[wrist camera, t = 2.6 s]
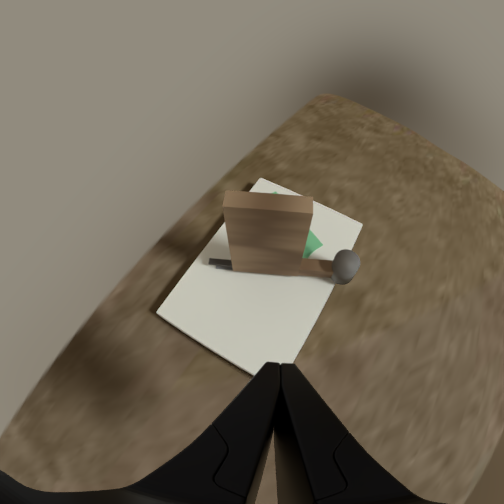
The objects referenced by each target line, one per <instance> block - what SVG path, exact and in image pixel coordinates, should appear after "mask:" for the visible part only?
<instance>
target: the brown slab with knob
mask: <svg viewBox="0 0 504 504" xmlns="http://www.w3.org/2000/svg"><path fill="white" fill-rule="evenodd" d="M222 207H223V213H224V219H225V225H226V232H227V238H228V244H229V250H230V256H231V260H226V259H214V258H209V263H208V264H209V265H219V266H230V267H232V268H233V271H239V272H250V273H261V274H273V275H285V276H298V275H299V276H312V277H325V278H331V279H332V280H333V281H334V282H335V283H337V284H341V285H344V284H347V283H349V282H350V281H351V280H352V278H353V277H354V275H355V273H356V272H357V270H358V269H359V267H360V259H359V257H358V255H357V254H356V253H355V252H353V251H351V250H348V249H343V250H340V251H339V252H337V254H336V255H335V257H334V260H333V261H332V260H320V259H308V258H302V257H303V253H304V249H305V245H306V241H307V237H308V233H309V229H310V225H311V221H312V217H313V197H308V196H297V195H286V194H273V193H260V192H245V191H228V190H226V192H225V197H224V202H223V206H222Z"/></svg>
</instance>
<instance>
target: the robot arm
mask: <svg viewBox="0 0 504 504" xmlns="http://www.w3.org/2000/svg"><path fill="white" fill-rule="evenodd" d="M273 429H274V448H275V464H276V480H277V497H278V504H446V503H438V502H432V501H428V500H425V499H423V498H421V497H419V496H417V495H415V494H414V493H412V492H411V491H410V490H408V489H407V488H406V487H405V486H404V485H403V484H401V483H400V482H399V481H398V480H397V479H396V478H394V477H393V476H392V475H391V474H390V473H389V472H388V471H386V470H385V469H384V468H383V467H382V466H381V465H380V464H379V463H378V462H377V461H375V460H374V459H373V458H372V457H371V456H370V455H369V454H368V453H367V452H366V451H365V450H364V448H363V447H362V446H361V445H360V444H359V443H358V442H357V441H356V439H355V438H354V437H353V436H352V435H351V433H349V431H348V430H347V429H346V427H345V426H344V425H343V424H342V422H341V421H340V420H339V419H338V418H337V416H336V415H335V414H334V413H333V411H332V410H331V409H330V408H329V406H328V405H327V404H326V403H325V401H324V400H323V399H322V398H321V396H320V395H319V394H318V393H317V391H316V390H315V389H314V388H313V386H312V385H311V384H310V383H309V381H308V380H307V379H306V378H305V376H304V375H303V374H302V372H301V371H300V370H299V369H298V367H297V366H296V365H295V364H293V363H281V364H280V363H278V362H266V363H265V364H264V365H263V366H262V367H261V368H260V370H259V371H258V372H257V373H256V374H255V375H254V377H253V378H252V379H251V380H250V381H249V382H248V384H247V385H246V386H245V387H244V388H243V389H242V390H241V392H240V393H239V394H238V395H237V396H236V397H235V398H234V399H233V401H232V402H231V403H230V404H229V405H228V406H227V407H226V408H225V409H224V410H223V412H222V413H221V414H220V415H219V416H218V417H217V418H216V419H215V420H214V421H213V422H212V425H209V426H208V428H207V429H206V430H205V431H204V432H203V433H202V434H201V435H200V436H199V437H198V438H197V439H195V440H194V441H193V442H192V443H191V444H190V445H189V446H188V447H186V448H185V449H184V450H183V451H181V452H180V453H179V454H177V455H176V456H175V457H173V458H172V459H171V460H169V461H168V462H166V463H165V464H163V465H162V466H161V467H159V468H158V469H156V470H155V471H153V472H152V473H150V474H149V475H147V476H146V477H144V478H143V479H141V480H140V481H138V482H136V483H134V484H132V485H129V486H127V487H123V488H119V489H111V490H100V491H86V492H44V491H39V490H35V489H32V488H29V487H26V486H24V485H22V484H21V483H19V482H17V481H16V480H14V479H13V478H12V477H10V476H9V475H7V474H6V473H4V472H3V471H1V470H0V504H255V501H256V497H257V493H258V490H259V486H260V482H261V479H262V475H263V471H264V467H265V463H266V460H267V456H268V452H269V448H270V443H271V439H272V435H273Z"/></svg>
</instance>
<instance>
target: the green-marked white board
mask: <svg viewBox="0 0 504 504" xmlns="http://www.w3.org/2000/svg"><path fill="white" fill-rule="evenodd" d="M249 192H260V193H273V194H286V195H297V196H302V195H300V194H297V193H295V192H293V191H290V190H288V189H286V188H284V187H281V186H279V185H277V184H274V183H272V182H270V181H267V180H265V179H262V178H260V179H259V180H258V181H257V183H256V184H255V185H254V186H253V187H252V189H251V190H250V191H249ZM362 225H363V224H361V223H359V222H357V221H355V220H353V219H351V218H349V217H347V216H345V215H343V214H341V213H339V212H336V211H334V210H332V209H330V208H328V207H326V206H324V205H322V204H319V203H317V202H315V201H313V217H312V221H311V225H310V229H309V233H308V237H307V241H306V245H305V249H304V253H303V257H302V258H308V259H320V260H332V261H333V260H334V257H335V255H336V254H337V252H339V251H340V250H343V249H348V250H352V248H353V245H354V243H355V241H356V239H357V237H358V234H359V232H360V230H361V228H362ZM209 258H214V259H226V260H231V256H230V250H229V244H228V238H227V232H226V225H225V222H224V224H223V225H222V226H221V227H220V229H219V230H218V231H217V233H216V234H215V235H214V236H213V238H212V239H211V240H210V242H209V243H208V244H207V245H206V247H205V248H204V249H203V251H202V252H201V253H200V254H199V256H198V257H197V258H196V260H195V261H194V262H193V264H192V265H191V266H190V268H189V269H188V270H187V272H186V273H185V274H184V275H183V277H182V278H181V279H180V281H179V282H178V283H177V285H176V286H175V287H174V289H173V290H172V291H171V293H170V294H169V296H168V297H167V298H166V300H165V301H164V302H163V304H162V305H161V306H160V308H159V309H158V310H157V312H156V313H157V314H158V315H159V316H160V317H162V318H163V319H164V320H166V321H167V322H169V323H170V324H172V325H173V326H175V327H176V328H177V329H179V330H180V331H182V332H183V333H185V334H186V335H188V336H189V337H191V338H192V339H194V340H196V341H197V342H199V343H200V344H202V345H203V346H205V347H206V348H208V349H210V350H211V351H213V352H214V353H216V354H218V355H219V356H221V357H222V358H224V359H226V360H227V361H229V362H231V363H232V364H234V365H236V366H237V367H239V368H241V369H242V370H244V371H246V372H248V373H249V374H251V375H253V376H254V375H255V374H256V373H257V372H258V371H259V370H260V368H261V367H262V366H263V365H264V364H265V363H266V362H278V363H280V364H281V363H293V361H294V360H295V358H296V356H297V354H298V353H299V351H300V349H301V347H302V346H303V344H304V342H305V340H306V338H307V337H308V335H309V333H310V331H311V329H312V327H313V326H314V324H315V322H316V320H317V318H318V316H319V314H320V312H321V311H322V309H323V307H324V305H325V303H326V301H327V299H328V297H329V295H330V293H331V291H332V289H333V287H334V285H335V282H334V281H333V280H332V279H331V278H325V277H312V276H299V275H298V276H285V275H273V274H261V273H250V272H239V271H233V268H232V267H230V266H219V265H209V264H208V263H209Z"/></svg>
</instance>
